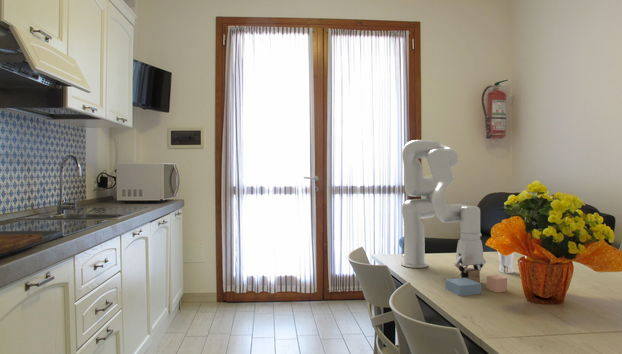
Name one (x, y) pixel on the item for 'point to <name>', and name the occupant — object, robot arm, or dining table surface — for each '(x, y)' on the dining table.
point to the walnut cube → (473, 274)
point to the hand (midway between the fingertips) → (470, 280)
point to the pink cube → (496, 283)
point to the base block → (463, 286)
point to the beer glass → (506, 263)
